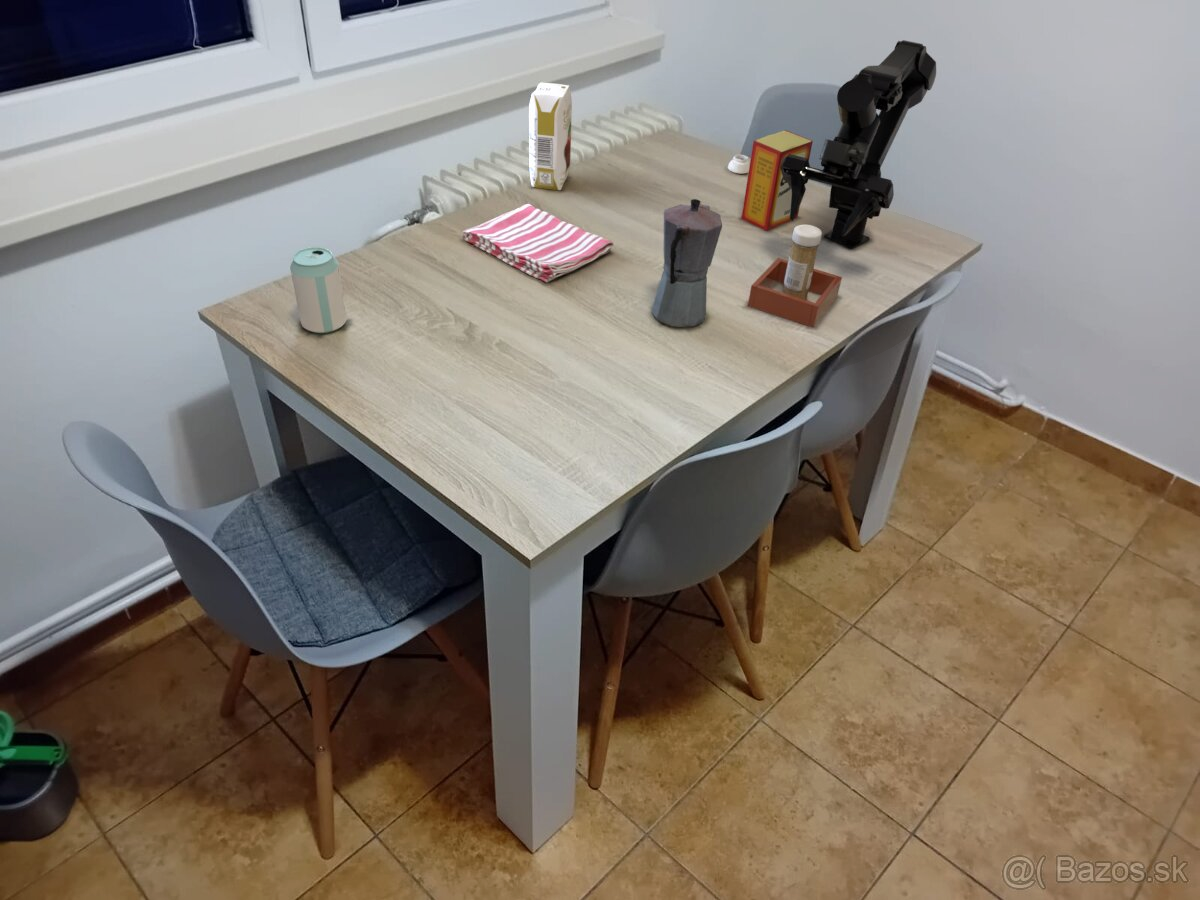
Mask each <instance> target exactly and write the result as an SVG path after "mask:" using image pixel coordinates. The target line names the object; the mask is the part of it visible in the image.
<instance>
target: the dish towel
mask: <svg viewBox="0 0 1200 900" xmlns="http://www.w3.org/2000/svg"><path fill="white" fill-rule="evenodd" d="M461 236H462V238H463V240H464V241H466V242H467V243H470V244H472V245H474V246H475V247H477V248H479V249H480V250H482V251H484V252H486V253H488V254H490V255H493V256H494V257H496V258H497V259H498V260H500V261H502V262H504V263H505V264H508V265H509V266H511V267H514V268H516V269H518V270H520V271H521V272H523V273H525V274H526V275H527V274H528V275H529V276H531V277H533V278H535V279H538V280H541V281H542V282H544V283H549V282H551V281H553V280H555V279H557V278H558V277H561V276H563V275H567V274H569V273H571V272H573V271H576V270H578V269H579V268H581V267H583V266H584V265H587V264H589V263H591V262H593V261H595V260H596V259H599V257H602V256H604V255H606V254H608V253H610V251H611V250H612V248H613V247H614V243H615V242H613V241H611V240H608V239H606V238H604V237H603V236H600V235H597V234H594V233H592V232H588V231H585V230H584V229H582V228H580V227H579V226H576V225H574V224H573V223H569V222H567V221H564V220H562V219H560V218H558V217H557V216H555V215H553V214H551V213H549V212H547V211H544V210H542V209H539V208H537V207H535V206H533V205H532V204H531V203H526V204H523V205H521V206H520V207H518V208H516V209H513V210H511V211H509V212H505V213H503V214H501V215H499V216H497V217H495V218H493V219H489V220H488V221H485V222H484V223H482V224H480V225H477V226H474V227H470V228H467V229H465V230H463V231H462V232H461Z"/></svg>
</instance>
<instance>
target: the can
mask: <svg viewBox="0 0 1200 900" xmlns="http://www.w3.org/2000/svg"><path fill="white" fill-rule="evenodd" d="M289 269H290V274H291V279H292V285H293V290H294V295H295V301H296V305H297V311H298V315H299V320H300V325H301V326H302V328H304V329H305V330H306V331H309V332H312V333H316V334H327V333H328V334H329V333H332V332H334V331H337V330H338V329H340V328H341V327H343V325H345V324H346V323H347V320H348V316H347V311H346V310H347V309H346V304H345V298H344V291H343V290H344V289H343V284H342V278H341V277H342V276H341V272H340V265H339V261H338V259H337V258H336V257H334V255H333V252H332V251H331V250H330V249H328V248H325V247H322V246H308V247H304V248H302V249H299V250H297V251H296V252H295V253H294V254H293V255H292V262H291V263H290V266H289Z"/></svg>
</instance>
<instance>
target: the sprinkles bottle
mask: <svg viewBox="0 0 1200 900" xmlns="http://www.w3.org/2000/svg"><path fill="white" fill-rule="evenodd" d="M822 235H823V231H822V230H821V229H820V228H819V227H817V226H815V225H812V224H799V225H796V226H795V227H794V228H793V231H792V237H791V238H792V240H791V241H792V242H791V247H790V252H789V256H788V260H787V261H788V265H787V270H786V275H785V280H784V283H783V288H782V291H781V292H782V293H785V294H788V295H791V296H795V297H798V298H801V299H804V300H807V301H808V295H809V292H810V291H809V287H810V283H811V279H812V274H813V269H815V262H816V258H817V253H818V248H819V246H820V244H821V240H822Z"/></svg>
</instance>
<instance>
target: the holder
mask: <svg viewBox="0 0 1200 900" xmlns="http://www.w3.org/2000/svg"><path fill="white" fill-rule="evenodd" d="M787 265H788V260H787V259H784V258H781V257H777V258H776V259H775V260H774V261H773V262H772V263H771V264H770V265H769V267H767V269H766V270H765V271H764V272H763V273H762V274H760V276H759V277H758V278H757V279H756V280H755V281H754V282H753V283H752V284H751V286H750V291H749V297H748V303H747V307H749V308H753V309H756V310H759V311H762V312H765V313H768V314H771V315H773V316H778V317H780V318H782V319H786V320H790V321H793V322H795V323H798V324H802V325H805V326H808V327H810V328H814V327H815V326H816V325H817V324H818V322H820V319H822V317H824V315H825V313H826V312H827V311H828V310H829V309H830V307H831V306H832V305H833V303H834V302H835V301H836V299H838V295H839V291H840V288H841V284H842V280H843V277H842V276H840V275H837V274H834V273H830V272H826V271H824V270H820V269H817V268H814V269H813V274H812V279H811V283H810V287H809V291H808V292H811V293H814V294H816V295H819V297H818V298H817V300H816V301H815V302H814V301H810V300H808V299H807V300H804V299H801V298H798V297H795V296H791V295H788V294H785V293H782V292H783V291H779V290H775V289H773V286H775V284H776V283H777V282H779V283H782V284H784V280H785V275H786V270H787Z"/></svg>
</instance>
